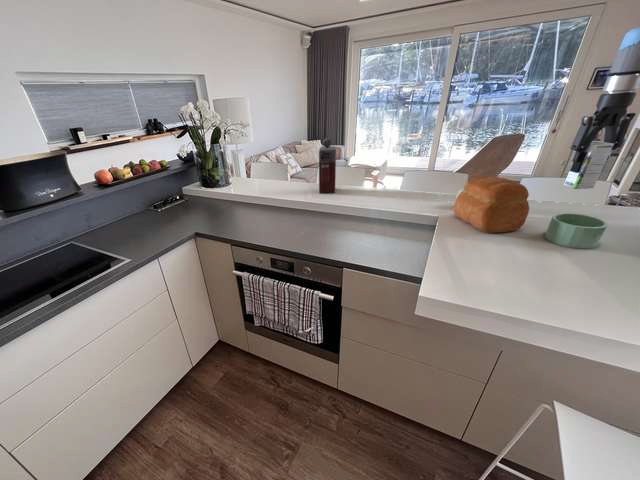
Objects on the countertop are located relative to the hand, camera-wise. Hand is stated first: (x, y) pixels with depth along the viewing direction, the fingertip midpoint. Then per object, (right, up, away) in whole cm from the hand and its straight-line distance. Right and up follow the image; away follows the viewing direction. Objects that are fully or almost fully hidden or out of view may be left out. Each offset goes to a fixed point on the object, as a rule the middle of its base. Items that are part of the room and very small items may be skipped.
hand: (584, 170), depth 97 cm
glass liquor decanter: (-77, +10, +66) cm, 102 cm away
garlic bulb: (-21, -6, +31) cm, 38 cm away
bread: (-24, -16, +15) cm, 32 cm away
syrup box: (+1, -5, +3) cm, 6 cm away
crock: (-7, -24, -2) cm, 25 cm away
